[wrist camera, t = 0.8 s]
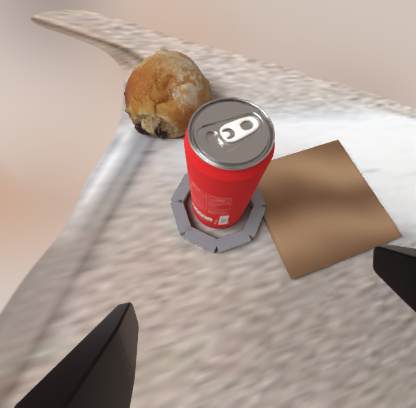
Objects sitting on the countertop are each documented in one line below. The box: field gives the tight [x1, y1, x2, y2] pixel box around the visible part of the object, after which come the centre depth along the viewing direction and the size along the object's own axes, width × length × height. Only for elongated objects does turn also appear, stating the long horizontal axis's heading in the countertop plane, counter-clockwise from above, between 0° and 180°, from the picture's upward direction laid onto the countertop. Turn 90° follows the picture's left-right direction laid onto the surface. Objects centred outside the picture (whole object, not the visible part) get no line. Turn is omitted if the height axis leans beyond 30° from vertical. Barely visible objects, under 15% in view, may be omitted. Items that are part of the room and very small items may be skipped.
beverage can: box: [184, 97, 275, 229], centre depth 17 cm, size 5×5×12 cm
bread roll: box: [124, 49, 212, 138], centre depth 26 cm, size 10×10×8 cm
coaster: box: [258, 140, 402, 279], centre depth 23 cm, size 12×12×1 cm
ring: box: [171, 174, 266, 253], centre depth 23 cm, size 9×9×1 cm
